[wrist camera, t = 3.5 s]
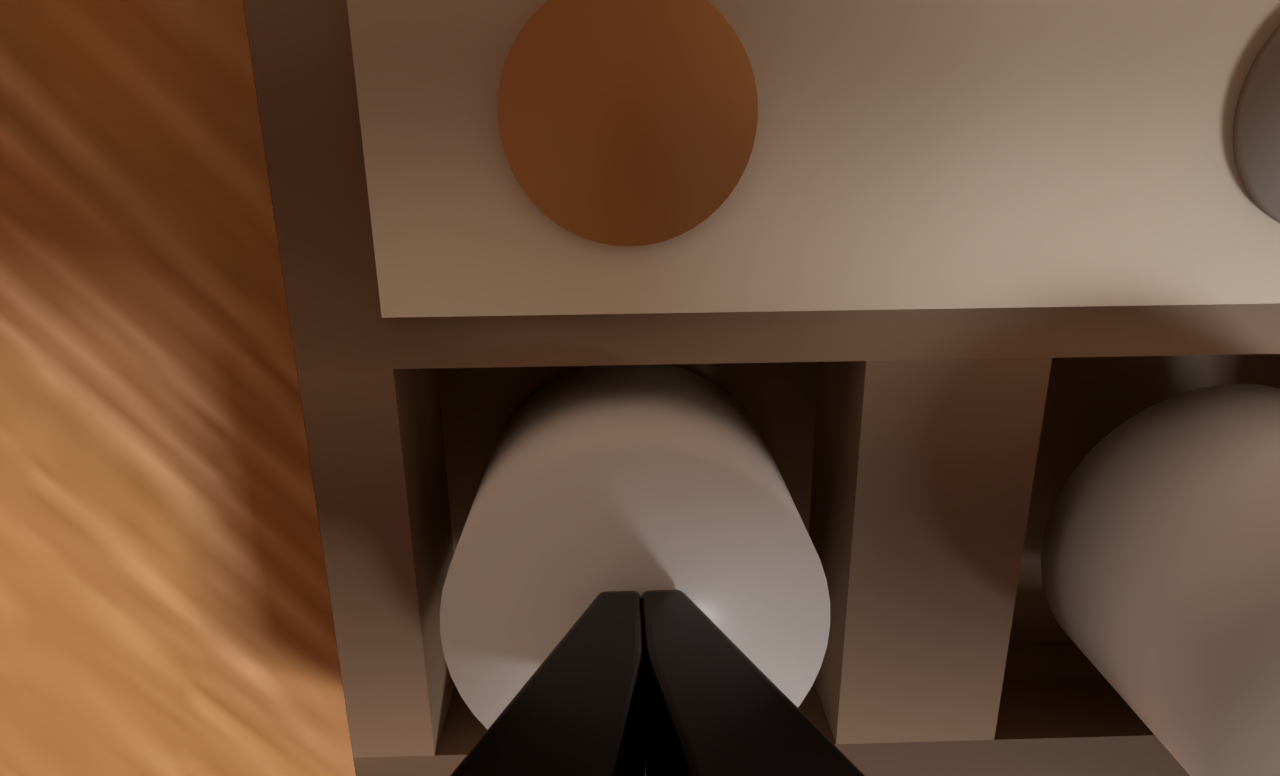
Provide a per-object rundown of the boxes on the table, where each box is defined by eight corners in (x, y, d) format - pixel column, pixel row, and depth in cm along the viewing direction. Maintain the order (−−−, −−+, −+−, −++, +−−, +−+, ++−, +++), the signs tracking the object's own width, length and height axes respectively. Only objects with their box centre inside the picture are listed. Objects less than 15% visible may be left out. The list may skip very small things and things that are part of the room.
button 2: (771, 623, 12) (819, 780, 9) (494, 629, 12) (456, 790, 9) (783, 357, 11) (843, 443, 8) (473, 362, 11) (421, 452, 8)
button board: (1654, 688, 14) (1954, 854, 11) (421, 721, 14) (363, 905, 11) (2009, -108, 10) (2622, -206, 7) (330, -101, 10) (195, -203, 7)
